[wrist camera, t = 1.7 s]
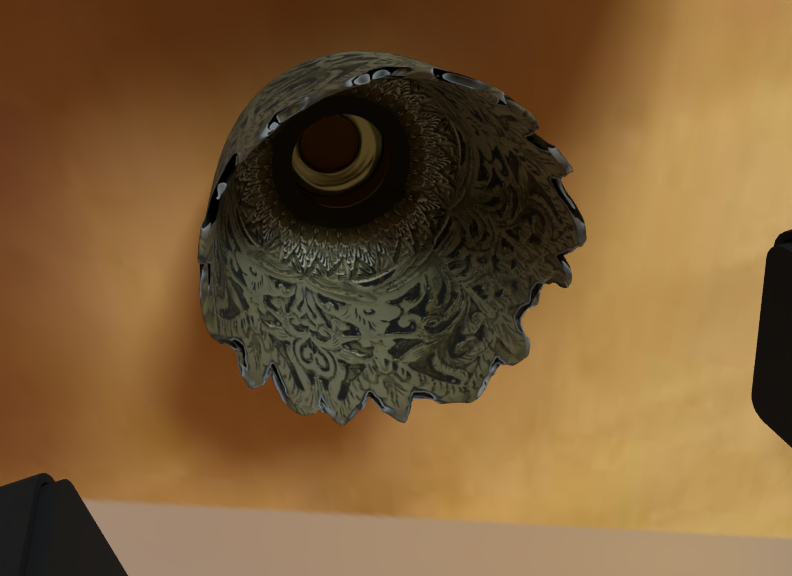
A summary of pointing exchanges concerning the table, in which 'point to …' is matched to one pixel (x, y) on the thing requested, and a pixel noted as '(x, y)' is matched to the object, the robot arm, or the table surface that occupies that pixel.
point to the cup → (382, 236)
